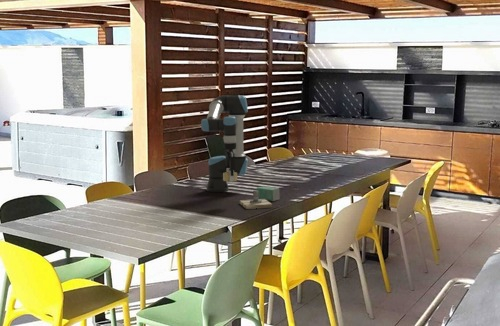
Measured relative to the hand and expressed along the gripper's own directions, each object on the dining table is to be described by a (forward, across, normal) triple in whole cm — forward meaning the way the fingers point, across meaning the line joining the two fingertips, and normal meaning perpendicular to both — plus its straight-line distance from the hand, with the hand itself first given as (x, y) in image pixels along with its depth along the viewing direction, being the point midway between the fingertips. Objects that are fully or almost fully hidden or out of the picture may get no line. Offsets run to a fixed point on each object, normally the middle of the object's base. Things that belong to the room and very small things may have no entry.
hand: (230, 179), depth 362 cm
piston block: (+16, +6, +14) cm, 22 cm away
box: (+16, -11, +27) cm, 33 cm away
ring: (0, 0, 0) cm, 0 cm away
